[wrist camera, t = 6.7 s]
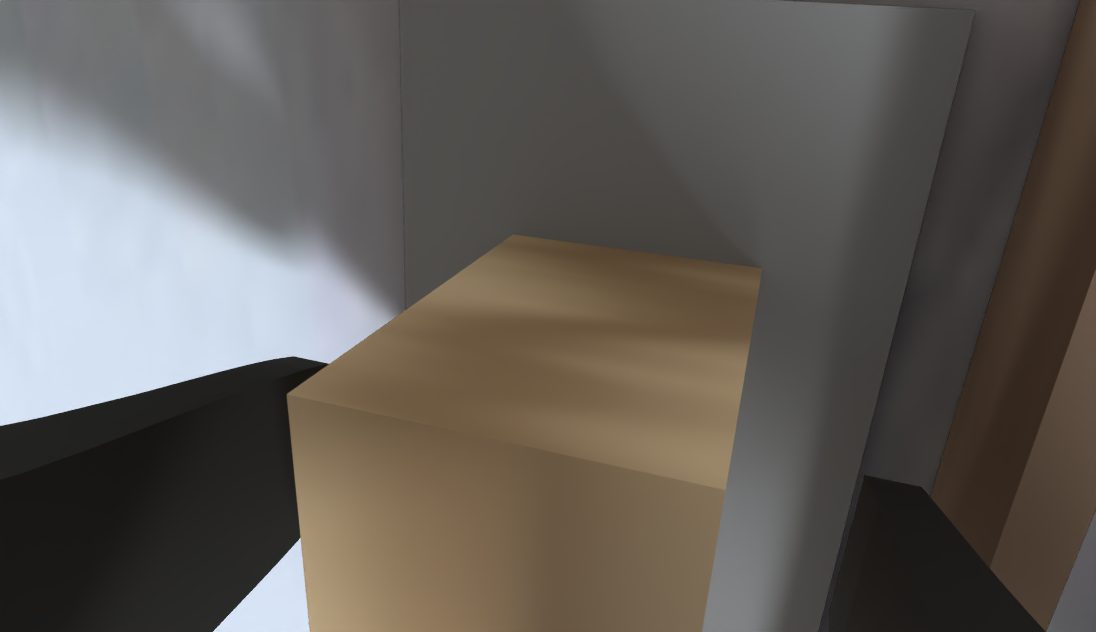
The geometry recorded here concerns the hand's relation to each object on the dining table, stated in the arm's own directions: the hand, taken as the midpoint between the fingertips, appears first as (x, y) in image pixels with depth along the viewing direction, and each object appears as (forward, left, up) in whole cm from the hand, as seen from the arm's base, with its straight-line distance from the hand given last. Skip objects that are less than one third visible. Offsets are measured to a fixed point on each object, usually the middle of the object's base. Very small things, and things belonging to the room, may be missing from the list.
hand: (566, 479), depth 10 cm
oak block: (0, 0, -3) cm, 3 cm away
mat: (0, 0, -3) cm, 3 cm away
